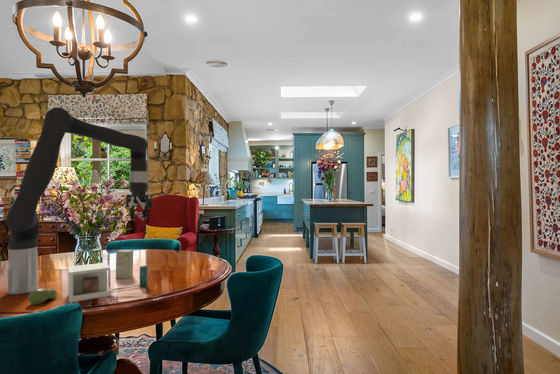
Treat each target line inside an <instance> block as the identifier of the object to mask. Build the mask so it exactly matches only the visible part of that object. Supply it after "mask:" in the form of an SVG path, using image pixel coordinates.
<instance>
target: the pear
mask: <svg viewBox="0 0 560 374" xmlns="http://www.w3.org/2000/svg"><path fill="white" fill-rule="evenodd" d="M57 294H58V292H57V290H55V289H53V288H38V289H35V290H33V291H32V292H29V293H28V296H27V297H28V298H27V299H28V300H27V301H28V302H29V303H30V304H31V305H34V306H36V305H37V306H38V305H40V304H43V303H45V302H46V301H48V300H55V299H56V298H57Z"/></svg>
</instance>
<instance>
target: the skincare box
mask: <svg viewBox="0 0 560 374" xmlns="http://www.w3.org/2000/svg"><path fill="white" fill-rule="evenodd" d="M115 252H116V253H115V279H130V278H132V277H133V276H134V249H120V250H116V251H115Z"/></svg>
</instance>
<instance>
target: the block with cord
mask: <svg viewBox="0 0 560 374" xmlns="http://www.w3.org/2000/svg"><path fill="white" fill-rule="evenodd" d="M148 285H149V284H148V265H140V266H139V284H136V285H129V286H123V287H115V288H110V289H108V288H107V290H110V292H112V291H118V290H124V289H132V288H137V287H140V288H145V287H148ZM107 290H102V291H107ZM94 292H101V291H99V278H98V276H94V277H86V278H83V293H82V294H88V293H94Z"/></svg>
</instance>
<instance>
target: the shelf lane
mask: <svg viewBox="0 0 560 374" xmlns="http://www.w3.org/2000/svg"><path fill="white" fill-rule="evenodd" d="M67 271H68V272H67V277H68V281H67V284H68V287H67V289H68V291H67V292H68V293H67V294H68V303H74V302H79V301H85V300H92V299H97V298H105V297H110V296H111V291H110V290H108V271H111V267H110V266H109V264H108V262H107V261H106V262H100V263H99V262H98V263H91V264H89V263H88V264H80V265H79V264H78V265H71V266H68V267H67ZM94 276H98V278H99V291H101V292H94V293H88V294H83V278H86V277H94ZM102 290H107V291H102Z"/></svg>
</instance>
